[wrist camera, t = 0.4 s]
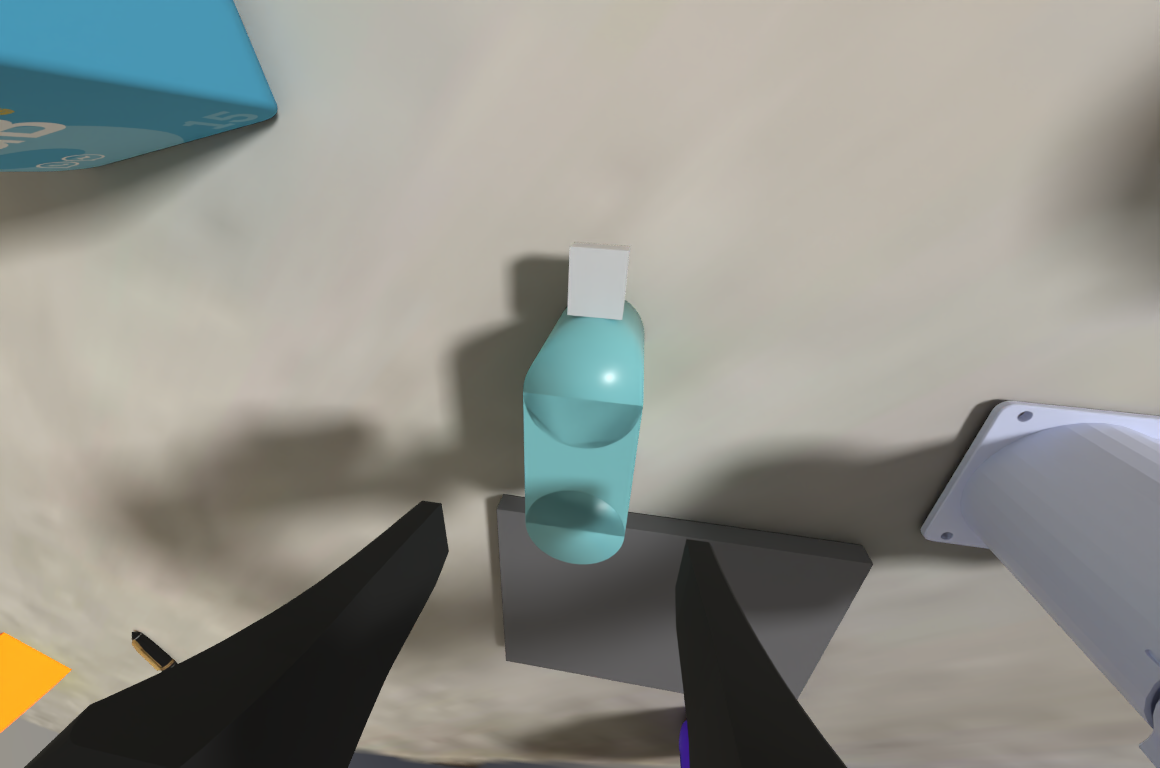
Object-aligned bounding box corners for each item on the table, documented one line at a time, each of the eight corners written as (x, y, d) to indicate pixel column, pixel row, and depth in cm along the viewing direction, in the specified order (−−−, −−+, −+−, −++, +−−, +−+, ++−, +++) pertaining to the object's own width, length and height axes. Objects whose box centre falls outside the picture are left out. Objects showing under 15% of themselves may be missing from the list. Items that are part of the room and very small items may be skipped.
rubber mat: (862, 545, 22) (873, 564, 21) (784, 693, 29) (789, 713, 28) (503, 494, 24) (496, 509, 23) (510, 644, 31) (505, 660, 30)
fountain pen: (233, 708, 45) (221, 723, 44) (225, 707, 45) (212, 723, 44) (143, 625, 39) (126, 641, 38) (134, 625, 40) (117, 641, 38)
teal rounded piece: (657, 238, 17) (661, 269, 11) (626, 477, 22) (619, 570, 17) (559, 231, 17) (520, 258, 12) (554, 467, 23) (526, 556, 18)
